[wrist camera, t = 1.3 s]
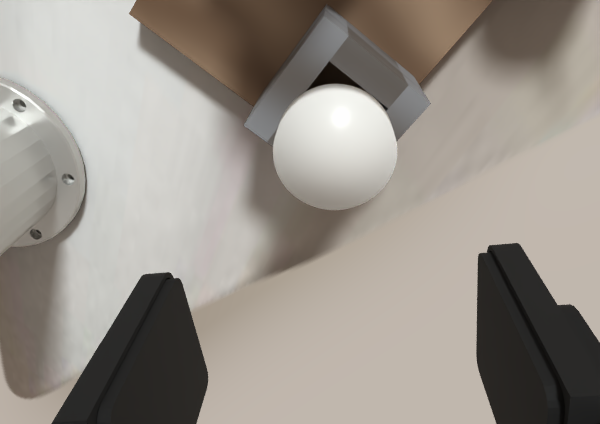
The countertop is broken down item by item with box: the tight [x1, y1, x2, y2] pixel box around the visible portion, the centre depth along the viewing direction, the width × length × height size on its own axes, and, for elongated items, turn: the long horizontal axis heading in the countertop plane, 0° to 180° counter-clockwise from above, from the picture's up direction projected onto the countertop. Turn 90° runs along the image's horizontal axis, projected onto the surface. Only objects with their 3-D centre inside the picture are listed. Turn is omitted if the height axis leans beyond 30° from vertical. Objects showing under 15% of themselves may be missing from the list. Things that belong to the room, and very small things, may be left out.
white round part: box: [273, 84, 397, 210], centre depth 23 cm, size 5×5×6 cm
